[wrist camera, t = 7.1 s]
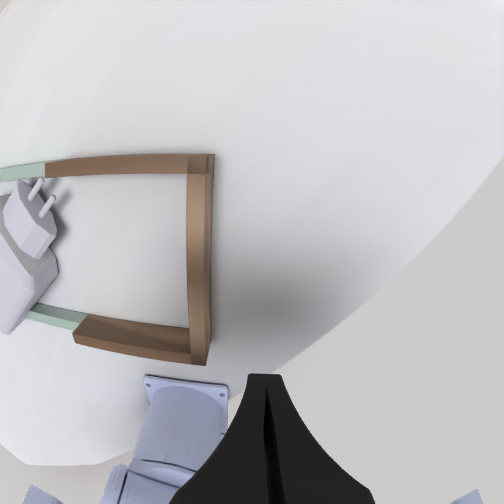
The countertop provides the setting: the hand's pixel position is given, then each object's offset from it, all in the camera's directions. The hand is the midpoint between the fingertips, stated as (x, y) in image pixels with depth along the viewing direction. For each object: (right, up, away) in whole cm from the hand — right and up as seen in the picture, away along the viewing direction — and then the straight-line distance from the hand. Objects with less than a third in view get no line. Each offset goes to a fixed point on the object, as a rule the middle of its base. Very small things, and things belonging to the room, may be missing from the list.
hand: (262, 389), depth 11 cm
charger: (-21, +7, +8) cm, 23 cm away
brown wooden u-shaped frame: (-9, +6, +8) cm, 13 cm away
